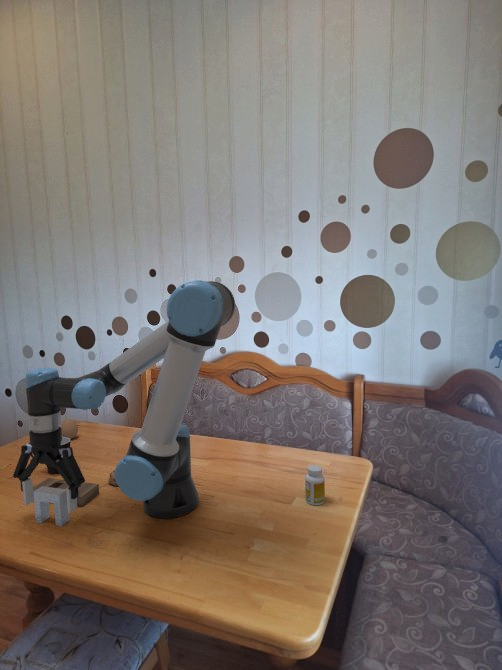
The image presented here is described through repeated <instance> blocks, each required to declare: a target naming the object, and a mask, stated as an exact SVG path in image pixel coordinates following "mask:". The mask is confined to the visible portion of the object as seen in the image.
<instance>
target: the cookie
mask: <svg viewBox="0 0 502 670" xmlns="http://www.w3.org/2000/svg"><path fill="white" fill-rule="evenodd" d="M108 484H109V485H111V486H115V487H119V486H118V485H117V483H116V480H115V469H114V470H113V471H111V472H110V473H109V478H108ZM119 488H120V487H119Z"/></svg>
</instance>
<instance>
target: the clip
mask: <svg viewBox="0 0 502 670" xmlns="http://www.w3.org/2000/svg"><path fill="white" fill-rule="evenodd" d="M33 493H34V501H33V503H34V515H35V523H39V524H43V523H44V522H46V521H47V520H49V518H51V516H50V503H51V504H53V506H54V518H55V526H59V527H62V526H64V525H65V524H66V523H68V522H69V521H70V513H69V512H68V507H67V490H66V489H60V488H52V487H44V486H41V487H40V488H38V489H37V490H35V491H33Z"/></svg>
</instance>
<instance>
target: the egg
mask: <svg viewBox="0 0 502 670" xmlns="http://www.w3.org/2000/svg"><path fill="white" fill-rule="evenodd" d="M60 427H61V428H62V437H67V438H70V440H72V439H74V438H75V437H76V436H77V434H78V431H79V428H78V427H79V426H78V424H77V423H76V421H75V420H73V419H71V418H68V419H66V420H64V421H63V422H62V423H61V426H60Z"/></svg>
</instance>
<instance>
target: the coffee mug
mask: <svg viewBox="0 0 502 670" xmlns="http://www.w3.org/2000/svg"><path fill="white" fill-rule="evenodd" d="M71 440H72V439H70V438H67V437H63V436H62V441H61V447H62V449H67V448H69V447H71ZM61 455H62V454H61ZM33 457H34V455H33V453H31V456H30V458H31V459H32V458H33ZM58 461H59V460H57V461H56V462H58ZM44 465H45V467H47V472H48V474H50V475H60V474H59V472H58V471H57V470H56V468H53V467H52V465H47V464H44Z"/></svg>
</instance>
